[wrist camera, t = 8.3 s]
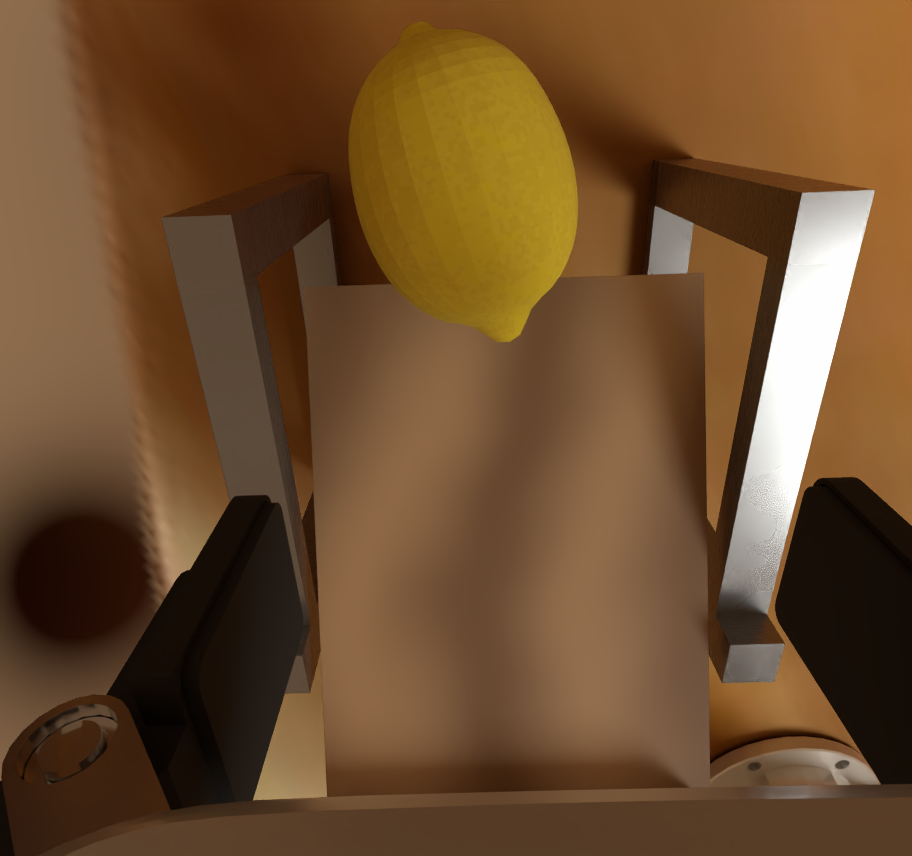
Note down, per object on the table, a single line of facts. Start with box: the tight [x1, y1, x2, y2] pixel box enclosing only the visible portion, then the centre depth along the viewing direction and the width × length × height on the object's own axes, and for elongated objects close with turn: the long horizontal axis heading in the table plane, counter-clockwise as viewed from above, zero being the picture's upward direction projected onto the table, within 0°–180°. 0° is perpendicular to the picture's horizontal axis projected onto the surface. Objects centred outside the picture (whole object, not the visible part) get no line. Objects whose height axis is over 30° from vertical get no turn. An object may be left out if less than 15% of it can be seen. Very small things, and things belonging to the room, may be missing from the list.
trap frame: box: [161, 158, 875, 693], centre depth 22 cm, size 16×14×13 cm
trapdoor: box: [305, 273, 710, 797], centre depth 19 cm, size 12×19×4 cm, turn 2°
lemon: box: [348, 21, 578, 342], centre depth 16 cm, size 6×6×8 cm
